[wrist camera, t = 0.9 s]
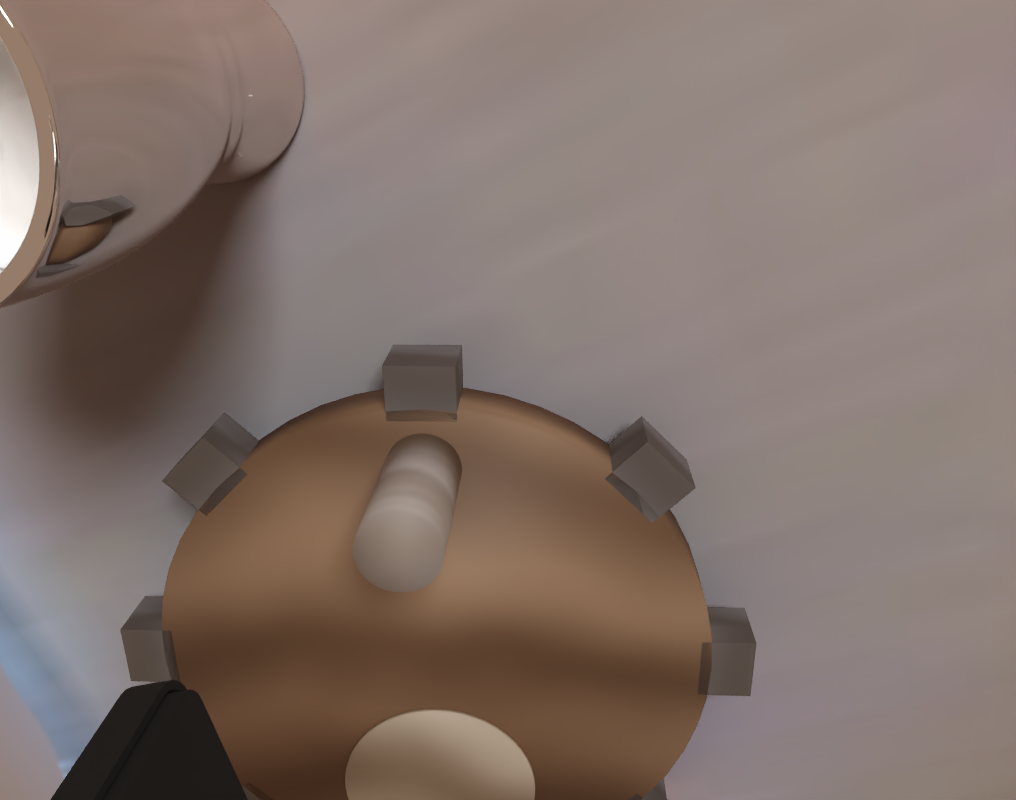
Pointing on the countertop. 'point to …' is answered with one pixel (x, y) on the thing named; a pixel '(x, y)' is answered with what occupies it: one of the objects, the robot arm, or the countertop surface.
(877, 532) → the countertop surface
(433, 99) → the countertop surface
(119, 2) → the beer glass
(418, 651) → the sprocket wheel
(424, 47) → the countertop surface
